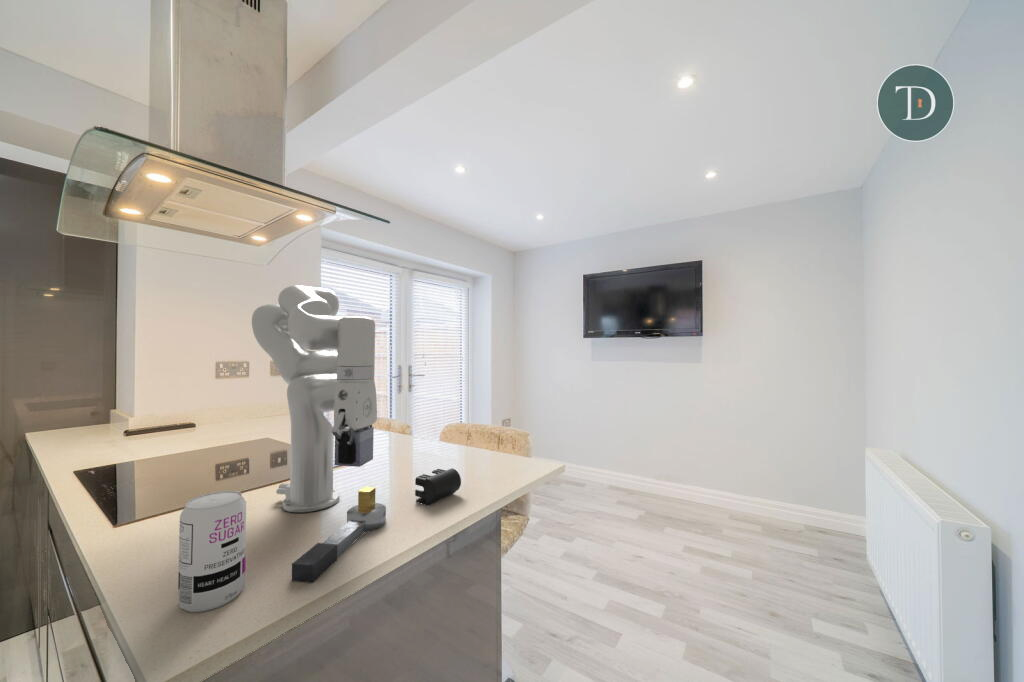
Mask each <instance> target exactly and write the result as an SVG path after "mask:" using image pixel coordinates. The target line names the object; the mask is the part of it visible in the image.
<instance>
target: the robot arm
mask: <svg viewBox="0 0 1024 682" xmlns="http://www.w3.org/2000/svg"><path fill="white" fill-rule="evenodd" d="M277 300H278V301H277V302H278V303H271V304H265V305H261V306H258V307H257V308H255V310H254V311H253V312H252V316H251V327H252V332H253V333H252V334H253V335H254V338H255V340H256V342H257V343H258V345H259V346H260V348H262V350H263V351H264V352H265V353H266V354H267V355H268V356H269V357H270V358H271V359H272V362H273V363H274V365H275V367H276V369H277V370H278V372H279V374H280V376H281V378H282V379H283V381H284V382H285V383H286V384H287V385H288V386H287V388H286V389H287V390H286V398H287V404H288V411H289V418H290V419H289V420H290V459H289V460H290V463H289V464H290V467H289V471H290V472H289V483H285V482H283V483H280V484H279V486H278V488H277V489H276V494H277V495H285V499H284V500H282V503H281V504H282V505H281V506H282V510H284V511H287V512H289V513H309V512H311V513H312V512H317V511H320V510H323V509H326V508H329V507H332V506H333V505H335V504H337V502H339V500H340V495H341V494H340V492H339V491H337V490H336V489H335V490H334V451H335V438H336V440H337V444H338V463H340V464H353V463H354V444H352V442H353V436H354V431H355V430H360V429H362V428H365V427H373V425H374V424H375V423H376V422H377V419H378V408H377V407H378V403H377V402H378V401H377V388H376V382H375V369H376V367H375V364H376V363H375V358H376V322H375V320H374V319H373V318H371V317H368V316H360V315H359V316H357V315H351V316H350V315H347V316H336V315H337V313H338V312H339V308H340V303H339V298H338V296H337V294H336V293H335V292H334V291H333V290H331V289H329V288H323V287H316V286H315V287H314V286H307V285H289V286H286V287H285V288H284V289H282V290H281V291H280V293H279V294H278V298H277ZM331 350H332V351H331ZM335 351H336V352H335ZM328 412H333V425H332V423H331V421H329V420H328V418H327V417H326V416H325V413H328ZM346 427H349V428H350V429H346ZM344 432H349V434H348V436H347V435H346V434H345V433H344Z"/></svg>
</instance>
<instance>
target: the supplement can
mask: <svg viewBox="0 0 1024 682" xmlns="http://www.w3.org/2000/svg"><path fill="white" fill-rule="evenodd" d="M242 493H243V492H240V491H237V490H222V491H216V492H215V491H214V492H211V493H206V494H202V495H199V496H196V497H193V498H192V499H189V500H188V501H186V502H185V506H184V508H183V510H182V511H181V513H180V515H179V535H178V538H179V539H178V540H179V541H178V578H177V579H178V581H177V583H178V584H177V586H178V588H177V605H178V607H179V608H180V609H183V610H184V611H186V612H189V613H202V612H206V611H207V612H208V611H211V610H214V609H217V608H220V607H222V606H224V605H226V604H227V603H230V602H231V601H233V600H234V599H235V598H236V597H238V595H239V594H240V593H241V592H242V590H243V589H244V588H245V586H246V551H247V550H246V549H247V548H246V545H247V544H246V541H247V539H246V537H247V501H246V500H245V498H244V497H243V494H242Z"/></svg>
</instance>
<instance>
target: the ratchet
mask: <svg viewBox="0 0 1024 682" xmlns="http://www.w3.org/2000/svg"><path fill="white" fill-rule="evenodd" d="M357 499H358V501H357V504H358V505H357V504H356V505H355V506H352V507H350V508H348V509H347V512H346V523H345V524H344V525H342V526H341V527H340V528H339V529H337V530H336V531H335V532H334V533H333V534H332V535H330V536H329V537H327V538H326V539H325V540H324V541H323V542H318V543H316V544H314V545H313V546H312V547H310V548H309V549H308V550H307V551H306V552H304V554H302V555H301V556H300V557H299V558H297V559H296V560H294V561H293V562H292V563H291V582H301V583H309V584H313V583H315V582H316V581H317V580H318V579H319V578H320V577H321V576H322V575H323V574H324V573H326V571H327V570H328V569H330V567H331V566H332V565H334V564H335V561H336V562H337V561H338V558H339V557H340V556H341V555H343V553H345V552H346V551H345V550H346V549H347V548H348V547H349V546H350V545H351V544H352V543H353V542H354V541H355V540H356V539H357V540H359V538H361V537H362V536H363V535H364V534H365V533H369V532H373V531H376V530H378V529H380V528H382V527H383V526H385V524H386V523H385V522H386V521H387V519H386V518H387V506H386V505H385V504H384V503H379V502H376V487H374V486H373V487H372V486H371V487H370V486H363V487H362V488H361V489H359V490H358V496H357ZM368 531H369V532H368ZM364 532H365V533H364ZM363 533H364V534H363ZM362 534H363V535H362ZM361 535H362V536H361ZM360 536H361V537H360ZM357 540H356V541H357ZM356 541H355V542H356ZM355 542H354V543H355ZM354 543H353V544H354ZM353 544H352V545H353ZM352 545H351V546H352ZM351 546H350V547H351ZM350 547H349V548H350ZM349 548H348V549H349ZM348 549H347V550H348ZM344 551H345V552H344Z"/></svg>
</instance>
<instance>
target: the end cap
mask: <svg viewBox="0 0 1024 682" xmlns="http://www.w3.org/2000/svg"><path fill="white" fill-rule="evenodd" d="M431 474H434V475H429V474H424V473H422V475H419V476H416V477H415V479H414V480H415V483H414V484H415V486H419V487H422V488H423V490H420V489H417V488H416V489H415V490H414V496H415V497H417V498H416V499H415V502H416V503H417V502H419V503H418V504H421V503H422V504H421V505H424V504H425V506H430V505H433V504H435V503H437V502H439V501H441V500H443V499H445V498H447V497H450V496H451V495H454V494H455V493H456V492H457V491H459V489H460V488H461V486H462V478H461V475H460V473H459V471H457V469H455V468H453V467H452V468H449V469H447V470H445V469H442V468H441V469H440V468H436V469H434V470H432V471H431Z"/></svg>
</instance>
